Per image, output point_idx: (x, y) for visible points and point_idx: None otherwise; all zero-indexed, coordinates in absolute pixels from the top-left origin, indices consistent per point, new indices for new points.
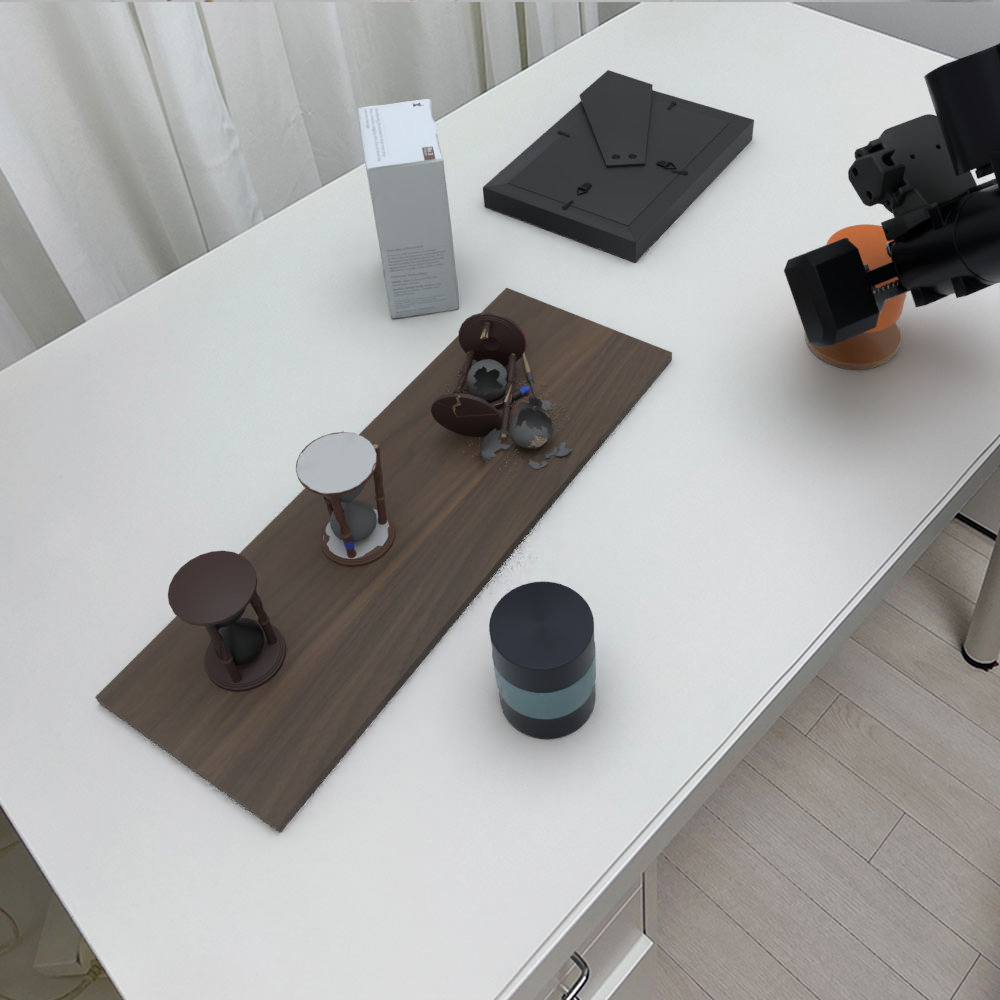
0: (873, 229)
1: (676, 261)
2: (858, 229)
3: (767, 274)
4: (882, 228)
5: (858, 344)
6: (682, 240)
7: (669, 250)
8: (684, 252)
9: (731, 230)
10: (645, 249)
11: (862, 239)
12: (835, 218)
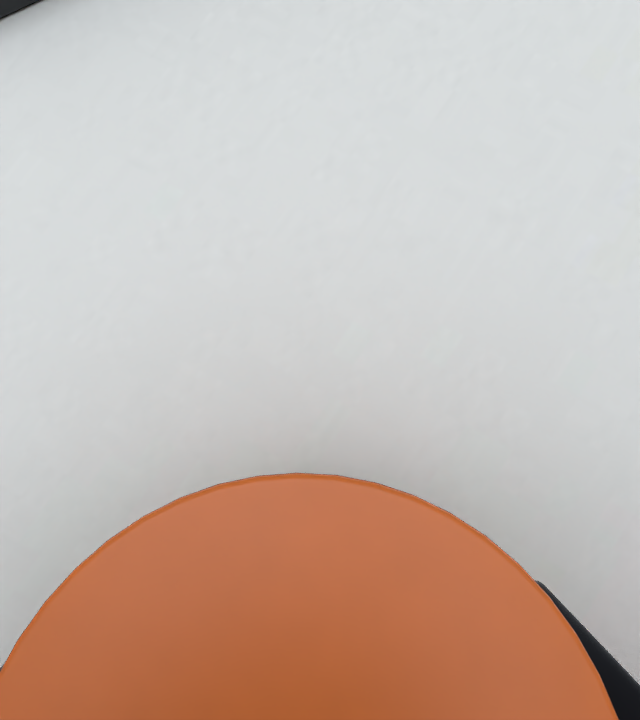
0: (465, 596)
1: (67, 79)
2: (367, 542)
3: (260, 242)
4: (531, 619)
5: None
6: (137, 14)
7: (80, 33)
8: (110, 57)
9: (283, 38)
10: (10, 3)
11: (327, 659)
12: (587, 124)
